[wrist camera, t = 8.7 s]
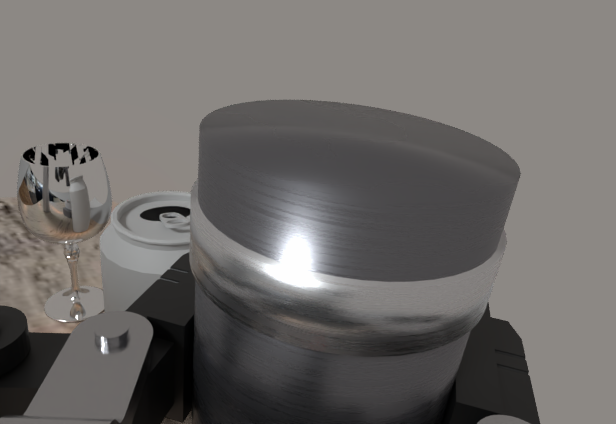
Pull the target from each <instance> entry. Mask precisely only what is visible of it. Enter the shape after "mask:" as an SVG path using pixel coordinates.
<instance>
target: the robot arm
mask: <svg viewBox="0 0 616 424" xmlns="http://www.w3.org/2000/svg"><path fill="white" fill-rule="evenodd" d="M194 316H195V278H194V276H193V274H192V271H191V267H190V262H189V252H188V253H186V254H184V255H182V256H181V257H180V258H179V259H178V260H177V261H176V262H175V263H174V264H173V265H172V266H171V267H170V270H169V269H168V270H167V271H166V272H165V273H164V274H163V275H161V276H160V279H157V280H156V281H155V282H154V283H153V284H152V285H151V286H150V287H149V288H148V289H147V290H146V291H145V292H144V293H143V294H142V295H141V296H140V297H139V298H138V299H137V300H136V301H135V302H134V303H133V304H132V305H131V306H130V307H129V308H128V309H126V310H125V311H111V312H105V313H101V314H98V315H95V316H92V317H90V318H88V319H86V320H84V321H83V322H81V323H80V324H79V325H78V326H77V327H76V328H75V329H74V330H73V331H72V333H67V334H64V333H31V332H29V331H28V325H27V319H26V316H25V315H24V313H22V312H21V311H20V310H18V309H16V308H13V307H8V306H0V424H161V422H162V421H163V419H164V418H165V417H167V418H170V419H173V420H176V421H180V422H184V420H185V418H186V417H187V415H188V414H189V412H190V410H191V409H192V389H193V353H194ZM528 372H529V371H528V366H527V362H526V360H525V353H524V348H523V344H522V339H521V338H520V337H519V335H518V334H517V333H516V331H515V330H514V329H513V328H512V326H511V325H510V324H509V322H508V321H503V320H500V319H496V318H492V317H490V311H489V304H488V303H487V306H486V309H485V312H484V314H483V316H482V317H481V319H480V321H479V322H478V323H477V324H476V325H475V326H474V327H473V328H472V329H471V331H470V334H469V338H468V341H467V344H466V347H465V350H464V353H463V356H462V359H461V363H460V366H459V369H458V372H457V375H456V378H455V381H454V384H453V388H452V391H451V394H450V397H449V400H448V403H447V406H446V410H445V413H444V416H443V419H442V422H441V424H540V421H539V417H538V412H537V407H536V403H535V398H534V394H533V389H532V385H531V380H530V376H529V375H528Z"/></svg>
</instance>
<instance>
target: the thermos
mask: <svg viewBox="0 0 616 424" xmlns="http://www.w3.org/2000/svg"><path fill="white" fill-rule="evenodd" d="M198 171H199V172H198V179H197V180H196V181H195V183H194V185H193V187H192V190H191V204H190V252H189V262H190V267H191V271H192V274H193V276H194V278H195V316H194V353H193V389H192V424H441V422H442V419H443V416H444V413H445V410H446V406H447V403H448V400H449V397H450V394H451V391H452V388H453V384H454V381H455V378H456V375H457V372H458V369H459V366H460V363H461V359H462V356H463V353H464V350H465V347H466V344H467V341H468V338H469V334H470V331H471V329H472V328H473V327H474V326H475V325H476V324H477V323H478V322H479V321H480V319H481V317H482V316H483V314H484V312H485V309H486V306H487V303H488V300H489V297H490V294H491V291H492V288H493V285H494V281H495V279H496V276H497V273H498V270H499V266H500V263H501V260H502V257H503V254H504V251H505V247H506V244H507V241H506V233H505V231H504V225H505V222H506V219H507V216H508V213H509V209H510V206H511V203H512V200H513V197H514V194H515V191H516V187H517V184H518V181H519V178H520V169H519V167H518V165H517V163H516V162H515V161H514V160H513V159H512V158H511V157H510V156H509V155H508V154H507V153H506V152H504V151H503V150H501V149H500V148H498V147H497V146H495V145H493V144H491V143H490V142H488V141H486V140H484V139H481V138H480V137H477V136H475V135H473V134H470V133H468V132H465V131H463V130H460V129H457V128H455V127H452V126H448V125H445V124H442V123H439V122H436V121H432V120H429V119H425V118H421V117H417V116H413V115H409V114H405V113H400V112H396V111H391V110H385V109H380V108H375V107H368V106H361V105H354V104H347V103H338V102H327V101H313V100H312V101H311V100H266V101H255V102H246V103H240V104H234V105H230V106H227V107H223V108H220V109H218V110H215V111H213V112H211V113H210V114H208V115H207V116H206V117H205V118H204V119H203V120H202V122H201V123H200V136H199V170H198Z"/></svg>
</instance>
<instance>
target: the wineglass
mask: <svg viewBox="0 0 616 424" xmlns="http://www.w3.org/2000/svg"><path fill="white" fill-rule="evenodd" d="M111 196H112V195H111V189H110V183H109V179H108V175H107V172H106V168H105V166H104V163H103V160H102V157H101V154H100V152H99V151H98V150H97V149H96V148H94V147H91V146H88V145H85V144H78V143H50V144H43V145H38V146H35V147H31V148H29V149H27V150H25V151H24V152H23V153H22V155H21V160H20V165H19V172H18V182H17V201H18V208H19V213H20V216H21V218H22V221H23V223H24V225H25V227H26V228H27V229H28V230H29V231H30V232H31V233H32V234H33V235H34V236H36V237H37V238H39V239H41V240H43V241H46V242H50V243H53V244H66V245H65V247H64V255H65V258H66V259H67V262H68V265H69V268H70V273H71V281H72V287H70V288H66V289H63V290H61V291H58V292H57V293H55V294H53V295H52V296H51V297H50V298H49V299H48V300H47V301H46V303H45V305H44V311H45V313H46V315H47V316H48V317H49V318H51V319H53V320H56V321H60V322H79V321H84V320H86V319H88V318H90V317H92V316H95V315H98V314H100V313H101V312H102V311H103V310H104V298H103V290H101V289H99V288H96V287H92V286H79V282H78V274H77V264H78V258H79V254H80V250H79V247H78V245H77V244H76V243H79V242H83V241H86V240H88V239H90V238H92V237H94V236H96V235H97V234H99V233H100V232H101V231H102V230H103V229H104V227H105V226H106V224H107V223H108V221H109V219H110V215H111V209H112V197H111Z"/></svg>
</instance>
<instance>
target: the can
mask: <svg viewBox="0 0 616 424" xmlns="http://www.w3.org/2000/svg"><path fill="white" fill-rule="evenodd" d="M190 204H191V193H189V192H179V191H161V192H153V193H147V194H141V195H138V196H135V197H132V198H129V199H127V200H125V201H124V202H122V203H120V204H119V205H117V206H116V207H115V209H114V210H113V212H112V213H111V224H110V225H109V226H108V227H107V228H106V229H105V231H104V232H103V234H102V235H101V237H100V257H101V270H102V284H103V298H104V311H105V312H111V311H125V310H126V309H128V308H129V307H130V306H131V305H132V304H133V303H134V302H135V301H136V300H137V299H138V298H139V297H140V296H141V295H142V294H143V293H144V292H145V291H146V290H147V289H148V288H149V287H150V286H151V285H152V284H153V283H154V282H155V281H156V280H157V279H160V276H161V275H163V274H164V273H165V272H166V271H167V270H168V269H169V270H170V267H171V266H172V265H173V264H174V263H175V262H176V261H177V260H178V259H179V258H180V257H181V256H182V255H184V254H186V253H188V252H190Z"/></svg>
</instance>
